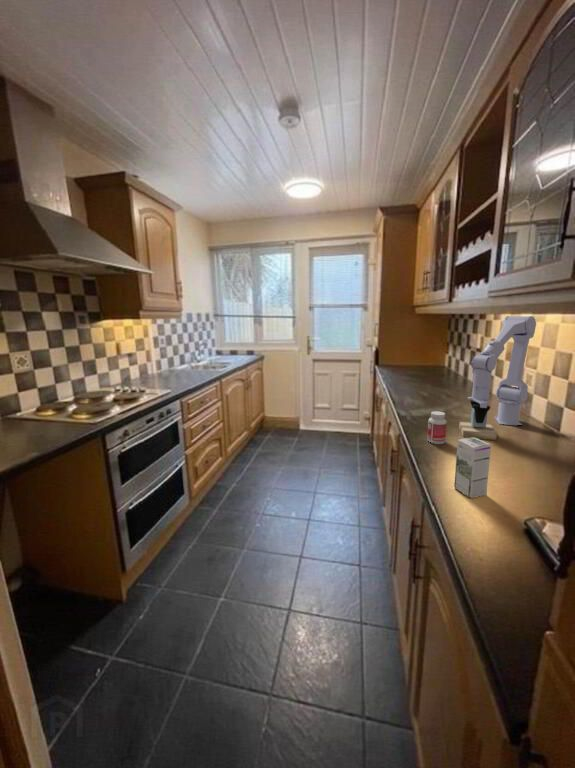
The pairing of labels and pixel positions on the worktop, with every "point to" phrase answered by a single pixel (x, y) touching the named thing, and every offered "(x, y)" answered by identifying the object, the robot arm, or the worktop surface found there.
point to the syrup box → (472, 466)
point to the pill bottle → (437, 428)
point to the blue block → (473, 420)
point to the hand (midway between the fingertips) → (478, 420)
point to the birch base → (477, 431)
